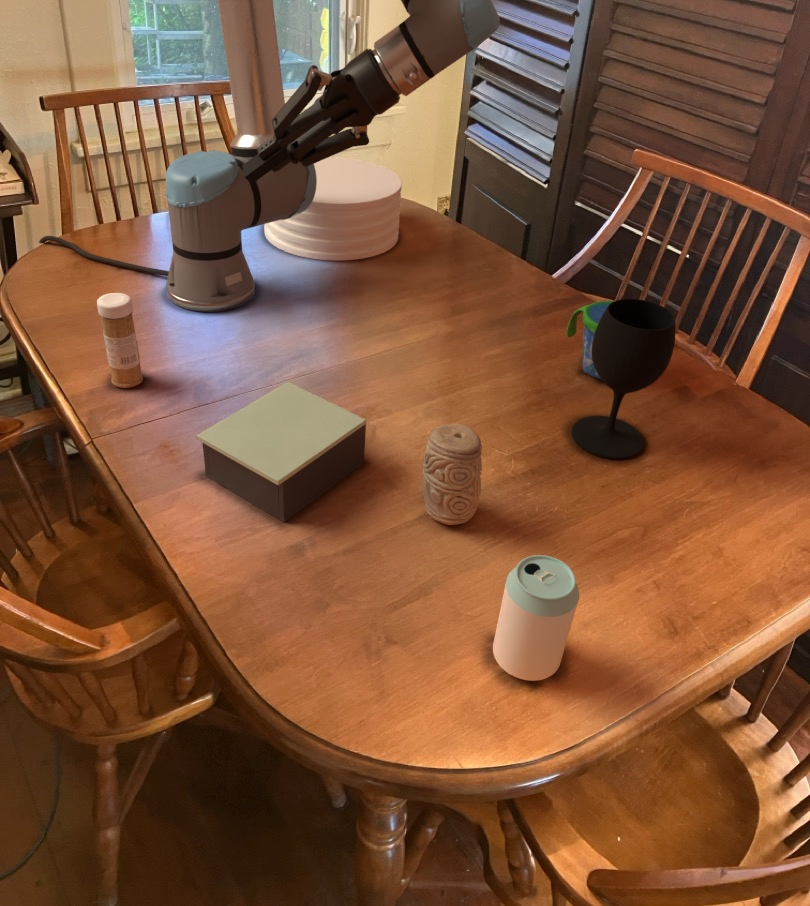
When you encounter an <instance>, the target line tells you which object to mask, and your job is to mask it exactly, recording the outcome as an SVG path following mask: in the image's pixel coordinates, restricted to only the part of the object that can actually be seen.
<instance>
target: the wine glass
mask: <svg viewBox="0 0 810 906" xmlns="http://www.w3.org/2000/svg"><path fill="white" fill-rule="evenodd" d="M613 301H614V302H612V303H610V304H609V306H608V307H607V309H606V310H605V312H604V314H603V315H602V317H601V319H600V321H599V323H598V326H597V328H596V331H595V334H594V337H593V342H592V360H593V364H594V367H595V369H596V371H597V373H598V375H599V377H600V378H601V379H602V380H603V381H602V380H601V381H602V382H603V383H604V384H605V385H606V386H607V387H609V388H610V389H611V390H612V391H613V400H612V405H611V409H610V413H609V416H606V415H590V416H585V417H582V418H580V419H578V420H577V421H576V422H574V424H573V425H572V427H571V437H572V439H573V441H574V442H575V444H576V445H577V446H578V447H579V448H580V449H582V450H583V451H585V452H586V453H589V454H590V455H592V456H595V457H597V458H600V459H606V460H613V461H621V460H628V459H632V458H634V457H636V456H638V455H639V454H640V453H642V450H643V449H644V444H645V443H644V442H645V441H644V438H643V436H642V434H641V433H640V432H639V431H638V429H636V428H635V427H634V426H633V425H632V424H630V423H628V422H626V421H624V420H622V419H618V418H617V416H618V414H619V410H620V406H621V404H622V402H623V399H624V397H625V396H626V394H631V393H635V392H639V391H642V390H643V389H645V388H647V387H650V386H651V385H653V384H654V383H655V382H657V381H658V380H659V379H660V378H661V376H662V375H663V374H664V373H665V371H666V370H667V369H668V366H669V365H670V362H671V360H672V356H673V354H674V349H675V343H676V331H677V330H676V329H677V328H676V326H677V325H676V318H675V315H674V314H673V313H672V311H670V310H669V309H667V308H666V307H665V306H662V305H660V304H658V303H655V302H653V301H649V300H644V299H639V298H621V299H617V300H616V299H615V300H613Z"/></svg>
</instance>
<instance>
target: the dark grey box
mask: <svg viewBox="0 0 810 906" xmlns="http://www.w3.org/2000/svg"><path fill="white" fill-rule="evenodd" d="M366 430H367V423H366V424H365V425H364V426H362V427H361V428H359V429H358V430H356V431H355V432H354V433H352V434H351V435H349V436H348V437H347V438H345V439H344V440H342V441H341V442H339V443H338V444H337V445H335V446H334V447H332V448H331V449H329V450H328V451H327V452H325V453H324V454H322V455H321V456H320V457H318V458H317V459H315V460H314V461H312V462H311V463H310V464H308V465H307V466H305V467H304V468H302V469H301V470H300V471H298V472H297V473H295V474H294V475H293V476H291V477H290V478H288V479H287V480H285V481H284V482H283V483H281V484H280V485H277V484H275V483H273V482H271V481H269V480H268V479H266V478H264V477H262V476H261V475H259V474H257V473H255V472H254V471H252V470H250V469H248V468H246V467H245V466H243V465H241V464H239V463H238V462H236V461H234V460H232V459H231V458H229V457H227V456H225V455H223V454H222V453H220V452H218V451H216V450H215V449H213V448H211V447H209V446H208V445H206V444H204V443H202V442H201V445H202V451H203V452H202V453H203V461H204V471H205V477H206V478H208V479H210V480H211V481H213V482H215V483H217V484H218V485H220V486H222V487H223V488H225V489H226V490H228V491H230V492H232V493H233V494H235V495H237V496H238V497H240V498H241V499H244V500H246V501H247V502H249V503H251V504H252V505H254V506H256V507H257V508H259V509H260V510H262V511H264V512H265V513H267V514H269V515H271V516H272V517H274V518H276V519H278V520H279V521H281V522H283V523H286V522H287V521H289V520H291V518H292V517H294V516H295V515H296V514H298V513H299V512H300V511H302V510H303V509H304V508H305V507H307V506H309V505H311V503H313V502H314V501H315V500H316V499H318V498H319V497H321V496H322V495H323V494H324V493H326V492H327V491H329V490H330V489H332V488H333V487H334V486H335V485H337V483H338V484H339V482H340V481H342V480H343V479H344V478H346V477H347V476H348V475H350V474H351V473H353V472H354V471H355V470H356V469H358V468H360V466H362V465H363V464H364V463H365V453H366V451H365V450H366Z"/></svg>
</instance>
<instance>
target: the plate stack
mask: <svg viewBox="0 0 810 906" xmlns="http://www.w3.org/2000/svg"><path fill="white" fill-rule="evenodd" d="M314 166H315V170H316V178H317V184H316V192H315V196H314V199H313V201H312V203H311V204H310V205H309V207H308V208H307V209H306V210H305V211H304V212H302V213H300V214H297V215H294V216H292V217H291V218H289V219H286V220H278V221H274V222H270V223H267V224H263V225H264V228H263V231H264V236H265V238H266V240H267V241H268V242H269V244H271V245H273V246H274V247H275V248H277V249H278V250H281V251H282V252H286V253H287V254H291V255H295V256H298V257H302V258H306V259H312V260H319V261H338V262H339V261H354V260H362V259H367V258H372V257H375V256H379V255H381V254H384V253H386V252H387V251H389V250H391V249H392V248H394V246H395V245H396V244H397V243H398V241H399V234H400V232H399V231H400V230H399V228H400V215H401V203H402V202H401V201H402V193H401V192H402V185H403V182H402V179H401V177H400V176H399V175H398V174H397V173H396V172H394V171H393V170H391V168H390V169H389V168H388V167H385V166H383V165H380V164H378V163H375V162H371V161H367V160H362V159H358V158H350V157H344V156H343V157H342V156H330V157H328V158H326V159H323V160H321V161H319V162H316V163H314Z"/></svg>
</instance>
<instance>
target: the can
mask: <svg viewBox="0 0 810 906" xmlns="http://www.w3.org/2000/svg"><path fill="white" fill-rule="evenodd" d="M579 600H580V588H579V585H578V584H577V577H576V575H575V573H574V571H573V570H572V568H571V567H570V566H569V565H568V564H566V563H565V562H564V561H562V560H561V559H559V558H556V557H554V556H550V555H545V554H535V555H529V556H526V557H524V558H522V559H521V560H520V561H519V562H518V563H517V565H516V566H515V567H514V568H513V569H511V570H510V572H509V573H508V575H507V577H506V581H505V585H504V591H503V595H502V598H501V604H500V610H499V614H498V620H497V624H496V629H495V630H496V631H495V634H494V639H493V643H492V654H493V657H494V659H495V661H496V662H497V665H499V667H500V668H501V669H502V670H503V671H505V673H507V674H509V675H511V676H513V677H514V678H517V679H520V680H524V681H530V682H531V681H541V680H545V679H547V678H550V677H551V676H553V675H554V674H555V673H556V672H557V671H558V669H559V668H560V665H561V662H562V658H563V655H564V651H565V649H566V645H567V643H568V642H567V641H568V639H569V635H570V631H571V628H572V624H573V621H574V618H575V614H576V610H577V608H578V607H577V606H578V603H579Z"/></svg>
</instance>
